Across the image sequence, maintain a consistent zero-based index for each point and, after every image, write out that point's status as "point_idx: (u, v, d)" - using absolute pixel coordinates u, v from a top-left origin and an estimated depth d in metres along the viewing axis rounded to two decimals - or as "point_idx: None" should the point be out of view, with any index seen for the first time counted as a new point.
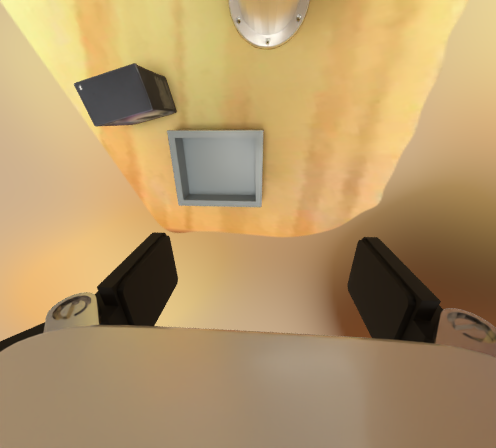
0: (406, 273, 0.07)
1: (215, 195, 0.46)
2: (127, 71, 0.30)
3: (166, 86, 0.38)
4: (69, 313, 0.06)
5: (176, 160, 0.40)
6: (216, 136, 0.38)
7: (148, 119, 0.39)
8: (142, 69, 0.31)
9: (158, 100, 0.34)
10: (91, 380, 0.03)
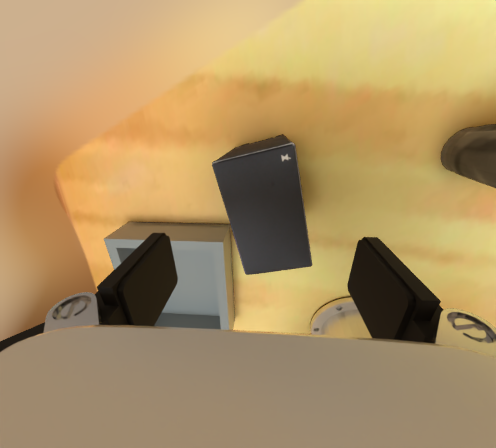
0: (406, 273, 0.07)
1: None
2: (302, 254, 0.18)
3: None
4: (69, 313, 0.06)
5: (180, 248, 0.25)
6: (219, 301, 0.28)
7: None
8: None
9: None
10: (91, 380, 0.03)
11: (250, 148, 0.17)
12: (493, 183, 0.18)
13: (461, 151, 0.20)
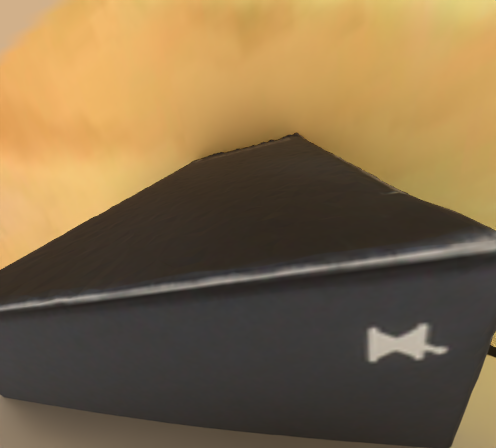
0: None
1: None
2: None
3: None
4: None
5: None
6: None
7: None
8: None
9: None
10: None
11: (193, 191, 0.04)
12: None
13: None
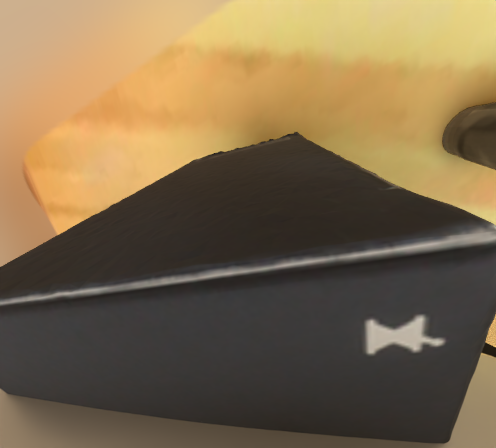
0: None
1: None
2: None
3: None
4: None
5: None
6: None
7: None
8: None
9: None
10: None
11: (193, 188, 0.04)
12: None
13: (465, 132, 0.19)
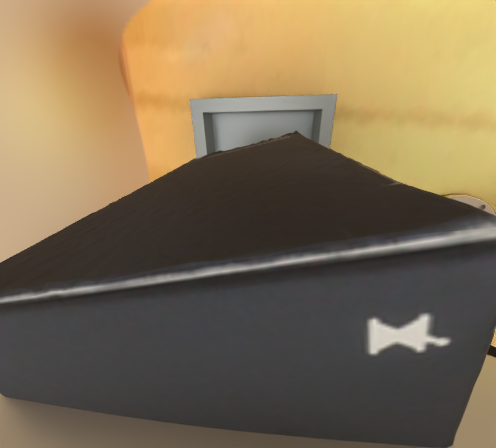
0: None
1: None
2: None
3: None
4: None
5: (281, 107, 0.21)
6: None
7: None
8: None
9: None
10: None
11: (192, 186, 0.04)
12: None
13: None
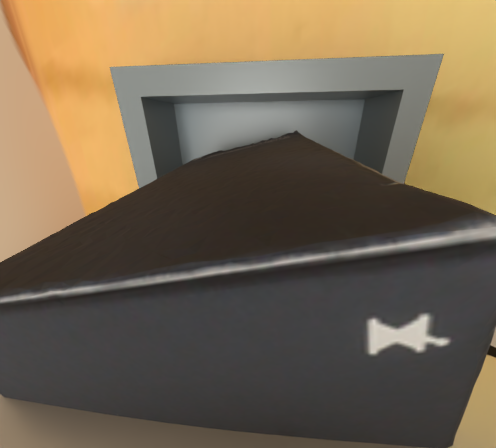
0: None
1: None
2: None
3: None
4: None
5: (311, 86, 0.09)
6: None
7: None
8: None
9: None
10: None
11: (191, 186, 0.04)
12: None
13: None
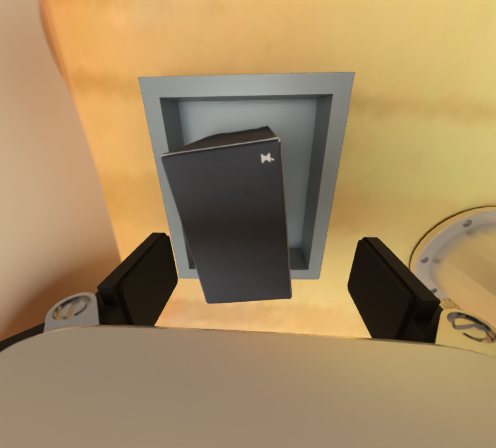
0: (406, 273, 0.07)
1: None
2: (280, 284, 0.14)
3: None
4: (69, 313, 0.06)
5: (274, 91, 0.14)
6: (320, 201, 0.18)
7: None
8: None
9: None
10: (91, 380, 0.03)
11: (221, 139, 0.13)
12: None
13: None
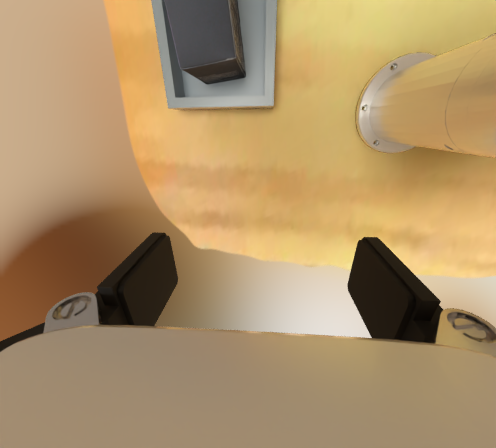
0: (406, 273, 0.07)
1: None
2: (227, 40, 0.20)
3: (232, 77, 0.29)
4: (69, 313, 0.06)
5: None
6: (267, 22, 0.24)
7: None
8: (235, 62, 0.23)
9: (202, 74, 0.24)
10: (91, 380, 0.03)
11: None
12: None
13: None
